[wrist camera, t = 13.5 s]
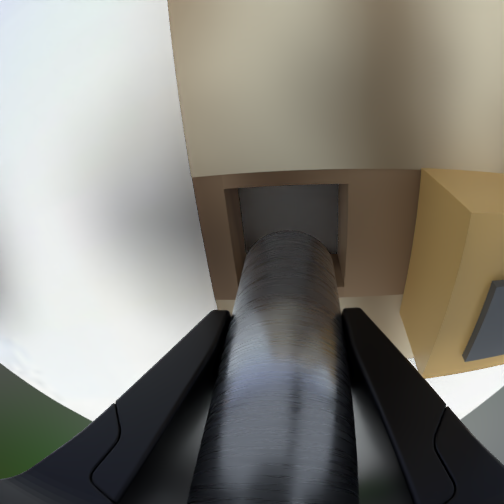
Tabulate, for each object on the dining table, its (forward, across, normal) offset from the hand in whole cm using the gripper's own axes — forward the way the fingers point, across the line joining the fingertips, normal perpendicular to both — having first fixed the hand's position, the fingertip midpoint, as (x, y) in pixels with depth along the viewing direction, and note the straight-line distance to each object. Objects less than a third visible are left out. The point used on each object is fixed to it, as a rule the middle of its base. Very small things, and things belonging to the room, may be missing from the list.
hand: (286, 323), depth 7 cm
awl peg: (+2, 0, 0) cm, 2 cm away
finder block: (+4, -7, 0) cm, 8 cm away
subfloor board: (+7, -4, -3) cm, 8 cm away
